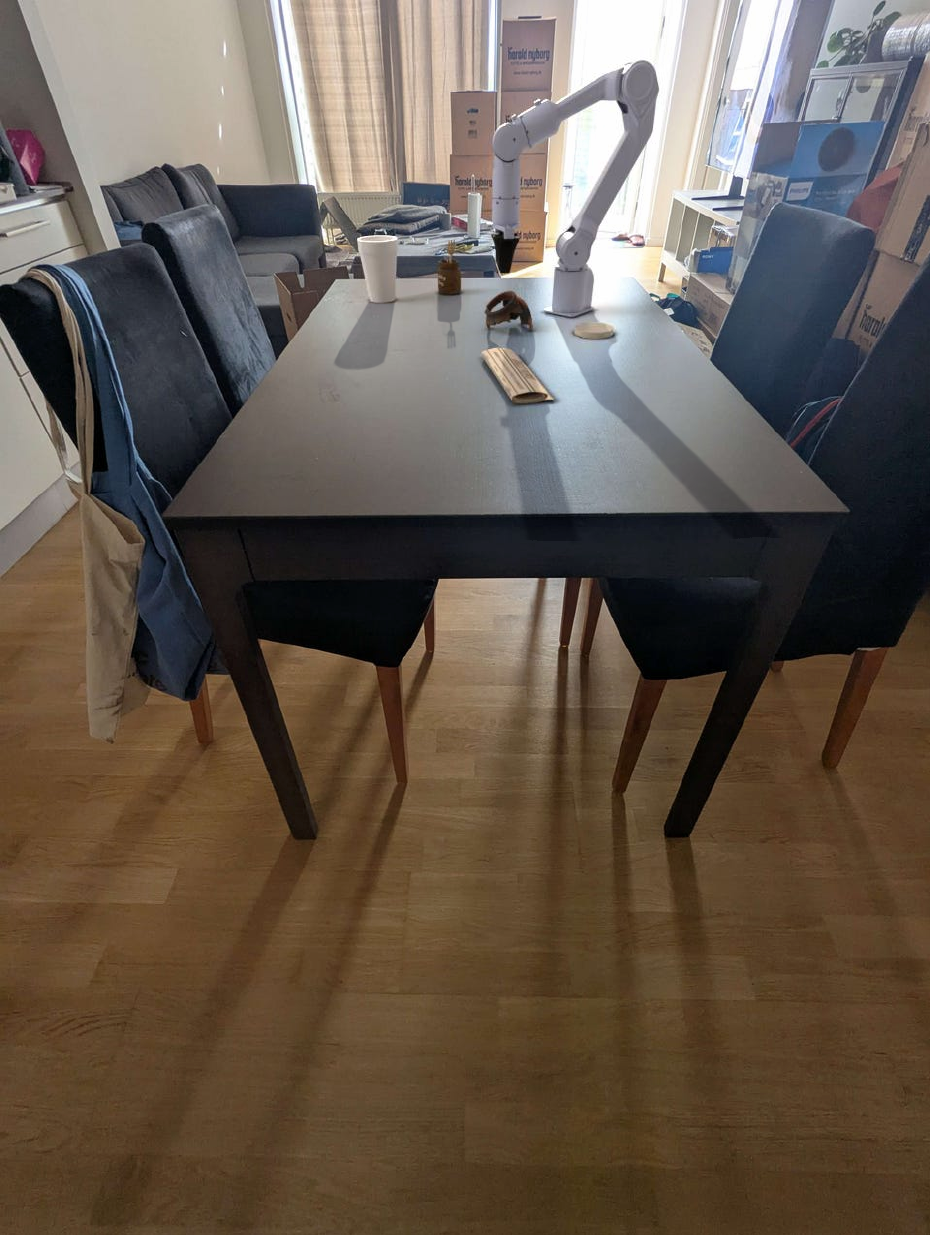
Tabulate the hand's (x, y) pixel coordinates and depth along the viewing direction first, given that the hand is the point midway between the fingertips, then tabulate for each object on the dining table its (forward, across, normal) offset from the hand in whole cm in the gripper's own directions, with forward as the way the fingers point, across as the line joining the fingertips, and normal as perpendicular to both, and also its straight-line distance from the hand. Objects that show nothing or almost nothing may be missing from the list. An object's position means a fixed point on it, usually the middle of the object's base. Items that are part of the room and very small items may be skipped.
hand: (504, 271), depth 136 cm
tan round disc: (+8, +18, +17) cm, 26 cm away
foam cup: (+9, -16, -28) cm, 33 cm away
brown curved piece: (+9, +13, 0) cm, 15 cm away
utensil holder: (+9, -21, -11) cm, 26 cm away
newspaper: (+9, +44, -3) cm, 45 cm away
